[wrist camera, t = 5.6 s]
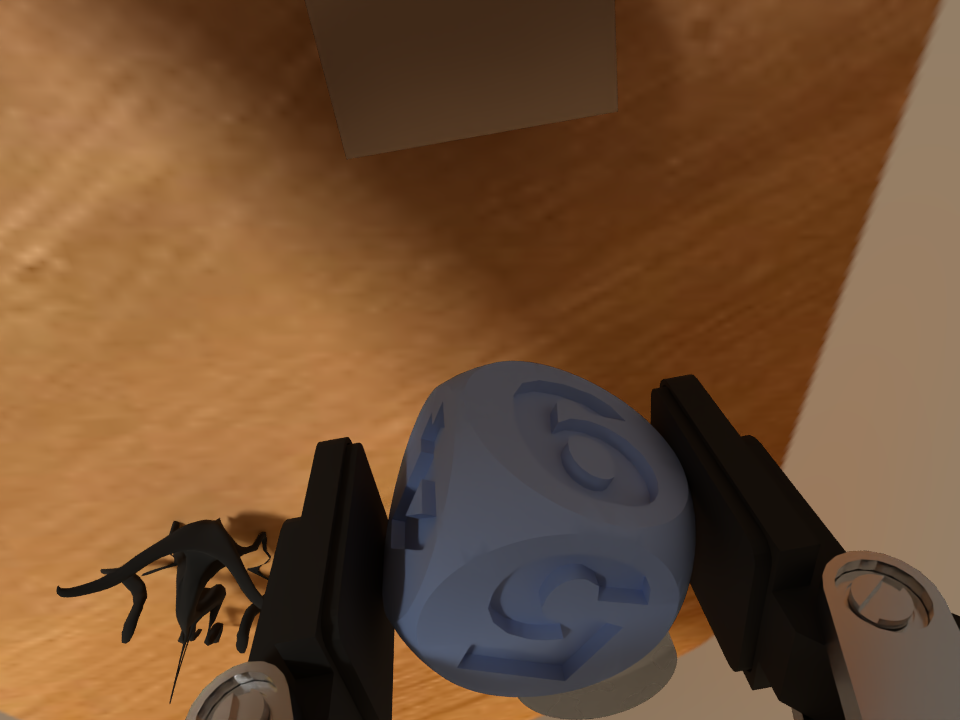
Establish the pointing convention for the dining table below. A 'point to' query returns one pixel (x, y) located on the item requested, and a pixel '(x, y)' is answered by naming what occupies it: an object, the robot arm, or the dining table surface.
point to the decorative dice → (535, 533)
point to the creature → (188, 580)
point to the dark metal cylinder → (612, 688)
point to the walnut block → (461, 67)
